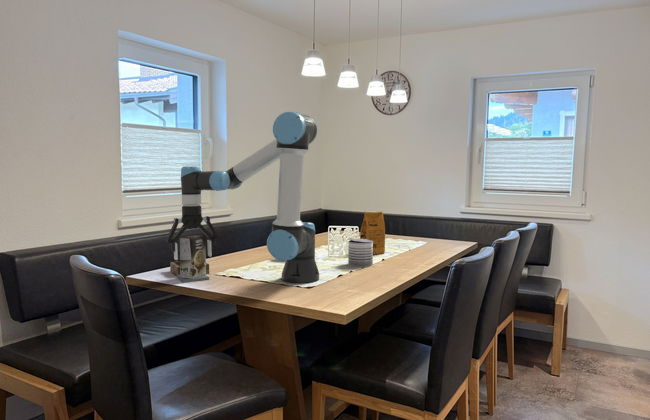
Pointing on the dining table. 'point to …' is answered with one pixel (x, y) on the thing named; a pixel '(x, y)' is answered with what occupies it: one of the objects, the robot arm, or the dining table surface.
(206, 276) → the pad
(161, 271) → the dining table surface
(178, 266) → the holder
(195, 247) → the coffee box
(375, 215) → the coffee package
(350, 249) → the can
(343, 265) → the dining table surface
